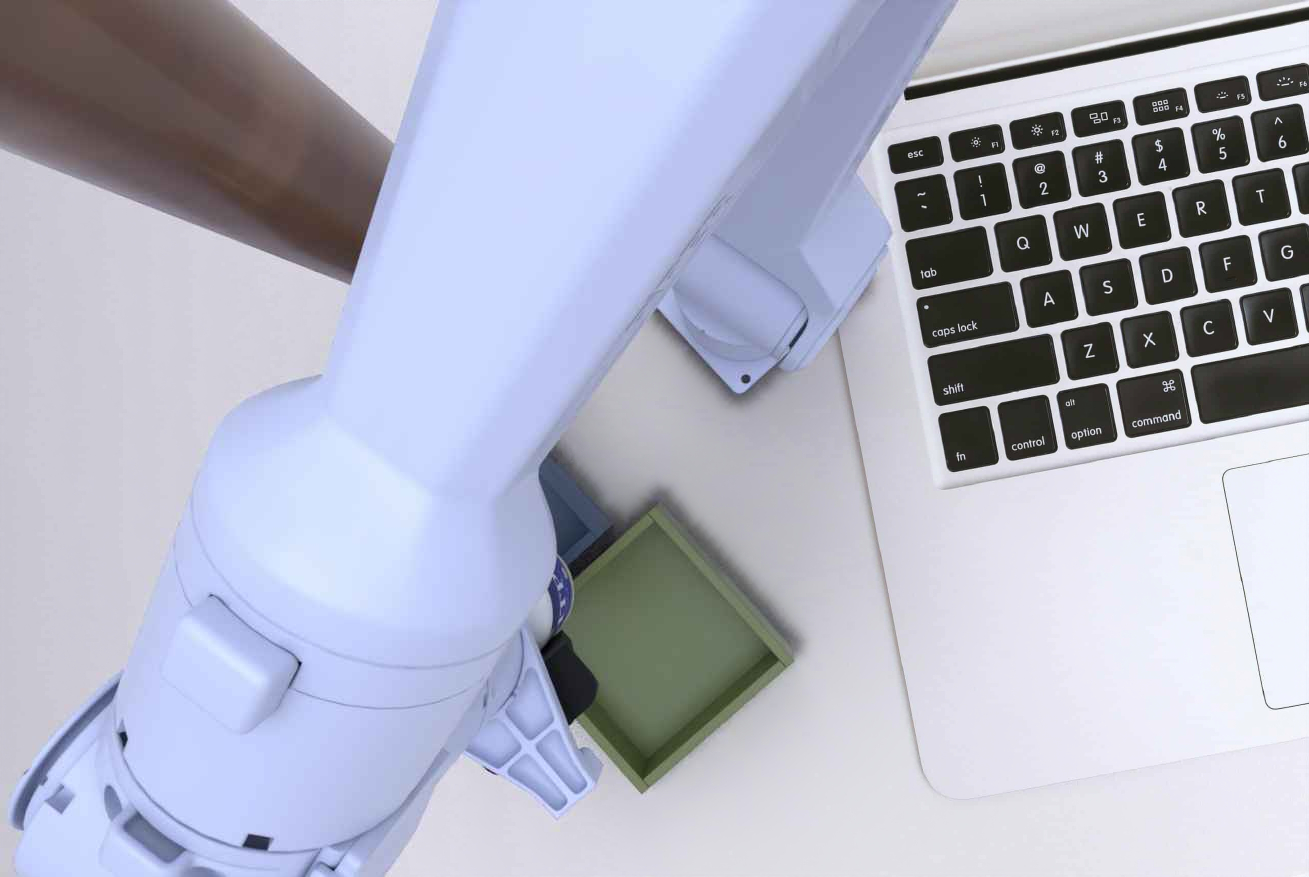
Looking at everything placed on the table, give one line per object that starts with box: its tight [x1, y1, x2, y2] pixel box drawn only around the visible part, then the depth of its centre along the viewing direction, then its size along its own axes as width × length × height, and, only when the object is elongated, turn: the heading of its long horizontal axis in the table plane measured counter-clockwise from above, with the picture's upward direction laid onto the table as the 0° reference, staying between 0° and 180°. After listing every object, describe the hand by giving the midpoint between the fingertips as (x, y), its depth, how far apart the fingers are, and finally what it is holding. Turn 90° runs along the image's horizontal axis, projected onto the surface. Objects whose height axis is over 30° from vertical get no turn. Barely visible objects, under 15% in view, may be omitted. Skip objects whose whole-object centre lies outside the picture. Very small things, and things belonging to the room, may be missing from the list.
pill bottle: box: [527, 554, 574, 652], centre depth 39 cm, size 5×5×9 cm
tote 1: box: [538, 452, 614, 567], centre depth 49 cm, size 11×11×4 cm
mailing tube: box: [0, 0, 395, 286], centre depth 27 cm, size 5×5×48 cm
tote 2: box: [553, 501, 795, 795], centre depth 49 cm, size 11×11×4 cm
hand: (509, 600), depth 40 cm, fingers closed on pill bottle, 5 cm apart
